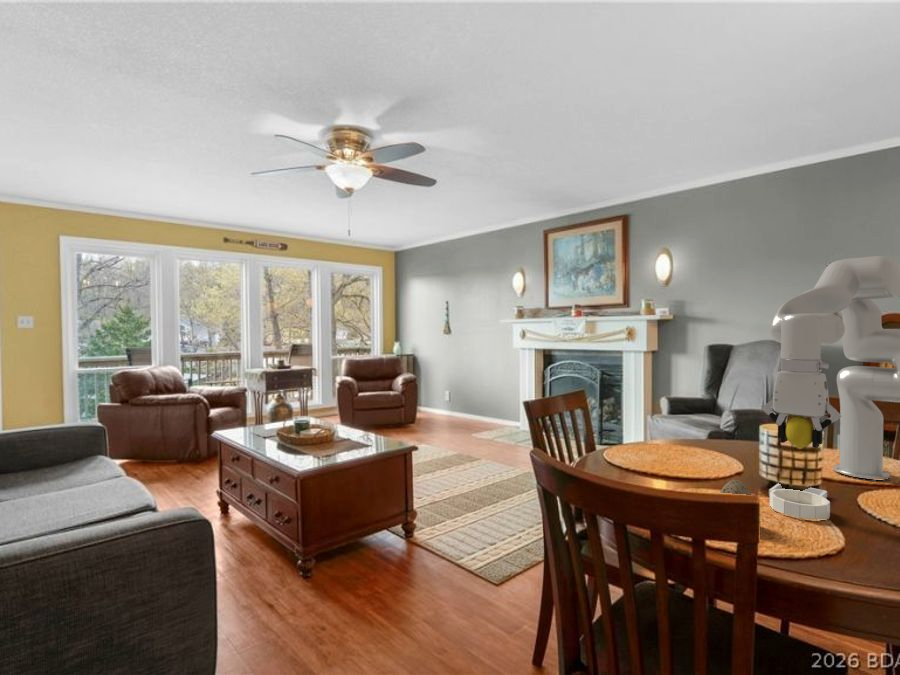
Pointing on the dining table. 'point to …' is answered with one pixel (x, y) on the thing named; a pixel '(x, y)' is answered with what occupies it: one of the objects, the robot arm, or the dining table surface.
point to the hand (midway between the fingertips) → (799, 443)
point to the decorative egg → (735, 488)
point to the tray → (811, 490)
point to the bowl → (800, 504)
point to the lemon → (799, 431)
